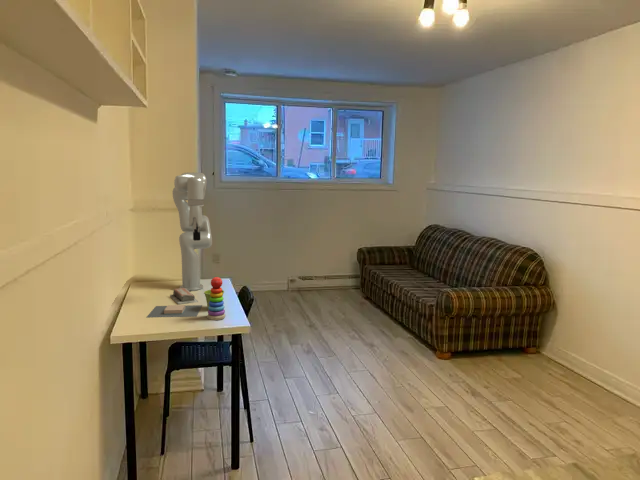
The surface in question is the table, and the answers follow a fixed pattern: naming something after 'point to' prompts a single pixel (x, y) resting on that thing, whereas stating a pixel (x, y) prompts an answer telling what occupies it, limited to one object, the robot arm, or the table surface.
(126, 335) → the table surface
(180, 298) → the packaged product
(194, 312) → the mat
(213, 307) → the stacking toy
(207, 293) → the plant pot
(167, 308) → the tile
